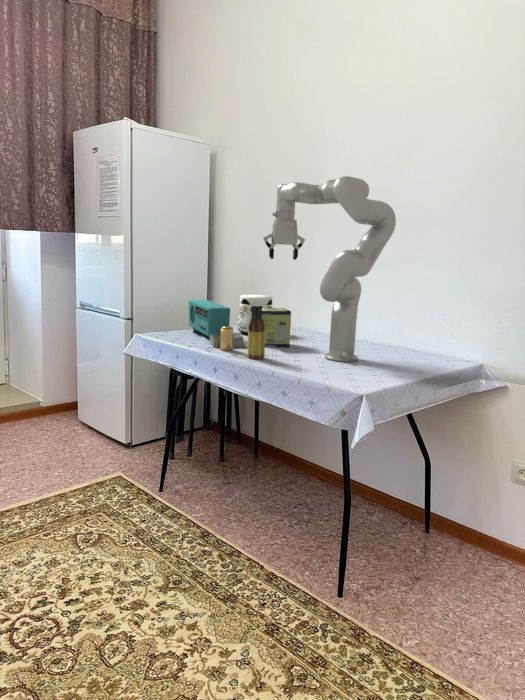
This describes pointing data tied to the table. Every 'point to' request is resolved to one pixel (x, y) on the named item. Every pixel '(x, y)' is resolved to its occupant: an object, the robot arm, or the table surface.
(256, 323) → the sauce bottle
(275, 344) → the protein box
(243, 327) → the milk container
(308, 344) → the table surface
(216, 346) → the housing
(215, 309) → the radio
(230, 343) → the gold drink can
